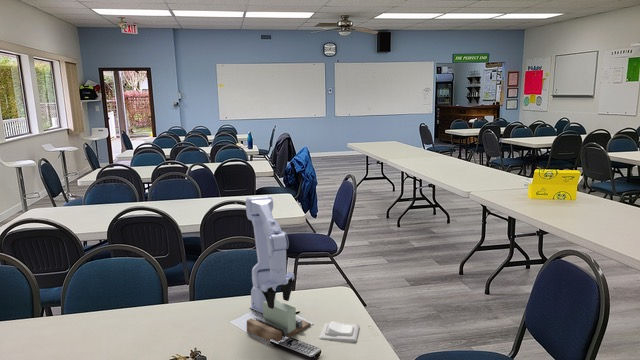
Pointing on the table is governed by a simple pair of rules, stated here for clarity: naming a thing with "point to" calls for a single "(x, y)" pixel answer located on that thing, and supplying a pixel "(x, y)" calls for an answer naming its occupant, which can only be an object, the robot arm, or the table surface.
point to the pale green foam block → (281, 315)
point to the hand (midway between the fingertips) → (278, 303)
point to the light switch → (339, 332)
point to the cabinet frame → (273, 328)
